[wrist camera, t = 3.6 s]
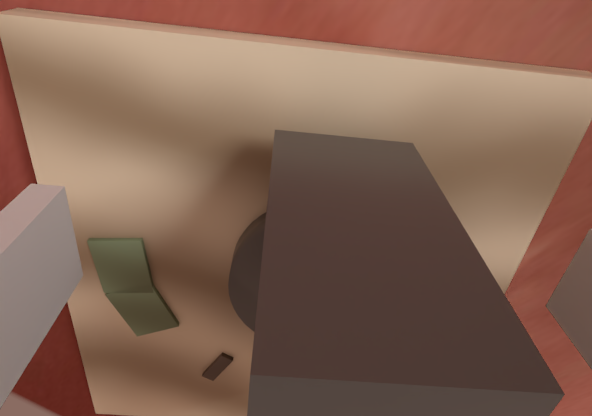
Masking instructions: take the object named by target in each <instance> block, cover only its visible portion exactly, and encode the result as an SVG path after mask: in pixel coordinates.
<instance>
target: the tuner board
mask: <svg viewBox="0 0 592 416" xmlns="http://www.w3.org/2000/svg"><path fill="white" fill-rule="evenodd" d="M0 38H1V42H2V46H3V50H4V54H5V58H6V62H7V66H8V69H9V73H10V77H11V81H12V85H13V89H14V93H15V97H16V101H17V105H18V109H19V113H20V117H21V121H22V125H23V129H24V133H25V137H26V141H27V145H28V149H29V152H30V156H31V160H32V164H33V168H34V172H35V176H36V180H37V184H42V185H55V186H65V191H66V195H67V200H68V205H69V210H70V214H71V219H72V224H73V229H74V233H75V238H76V243H77V248H78V252H79V257H80V262H81V267H82V271H83V277H82V278H81V280H80V282H79V283H78V285H77V286H76V288H75V290H74V291H73V293H72V294H71V296H70V298H69V299H68V301H67V303H68V307H69V311H70V314H71V318H72V322H73V326H74V330H75V334H76V338H77V342H78V346H79V350H80V354H81V358H82V362H83V366H84V370H85V374H86V378H87V382H88V386H89V390H90V394H91V397H92V401H93V405H94V409H95V413H96V414H111V415H129V416H247V410H248V397H249V383H250V371H251V361H252V351H253V341H254V331H252V330H251V329H250V328H249V327H248V326H246V325H245V324H244V323H243V321H242V320H241V319H240V318H239V317H238V315H237V313H236V312H235V310H234V308H233V306H232V303H231V301H230V297H229V290H228V281H229V274H230V269H231V264H232V258H233V254H234V250H235V247H236V244H237V242H238V240H239V238H240V236H241V235H242V234H243V232H244V231H245V229H246V228H247V227H248V226H249V225H250V224H251V223H252V222H253V221H254V220H256V219H257V218H258V217H259V216H260V215H262V214H264V213H265V212H267V202H268V192H269V182H270V172H271V162H272V152H273V142H274V132H275V130H285V131H295V132H305V133H316V134H326V135H336V136H346V137H357V138H367V139H377V140H387V141H398V142H408V143H413V144H414V146H415V147H416V149H417V151H418V152H419V154H420V156H421V157H422V159H423V161H424V162H425V164H426V166H427V167H428V169H429V171H430V172H431V174H432V176H433V177H434V179H435V181H436V182H437V184H438V185H439V187H440V189H441V190H442V192H443V194H444V195H445V197H446V199H447V200H448V202H449V204H450V205H451V207H452V209H453V210H454V212H455V214H456V215H457V217H458V219H459V220H460V222H461V224H462V225H463V227H464V228H465V230H466V232H467V233H468V235H469V237H470V238H471V240H472V242H473V243H474V245H475V247H476V248H477V250H478V252H479V253H480V255H481V257H482V258H483V260H484V262H485V263H486V265H487V267H488V268H489V270H490V272H491V273H492V275H493V276H494V278H495V280H496V281H497V283H498V285H499V286H500V288H501V290H502V291H503V293H504V294H505V292H506V290H507V288H508V286H509V284H510V282H511V280H512V278H513V276H514V274H515V272H516V270H517V268H518V266H519V264H520V262H521V260H522V258H523V256H524V254H525V252H526V250H527V248H528V246H529V244H530V242H531V240H532V238H533V236H534V234H535V232H536V230H537V228H538V226H539V224H540V222H541V220H542V218H543V216H544V214H545V212H546V210H547V208H548V206H549V204H550V202H551V200H552V198H553V196H554V194H555V192H556V190H557V188H558V186H559V184H560V182H561V180H562V178H563V176H564V174H565V172H566V170H567V168H568V166H569V164H570V162H571V160H572V158H573V156H574V154H575V152H576V150H577V148H578V146H579V144H580V142H581V140H582V138H583V136H584V134H585V132H586V130H587V128H588V126H589V124H590V122H591V120H592V73H591V72H589V71H584V70H575V69H566V68H557V67H548V66H539V65H530V64H521V63H512V62H503V61H494V60H485V59H476V58H467V57H458V56H449V55H440V54H431V53H422V52H413V51H404V50H395V49H386V48H377V47H368V46H359V45H349V44H340V43H331V42H322V41H313V40H304V39H295V38H286V37H277V36H268V35H259V34H250V33H241V32H232V31H223V30H214V29H205V28H196V27H187V26H178V25H169V24H160V23H151V22H142V21H133V20H124V19H115V18H106V17H97V16H88V15H79V14H70V13H61V12H52V11H43V10H34V9H25V8H15V9H11V10H6V11H2V12H0Z"/></svg>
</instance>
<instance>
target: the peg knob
mask: <svg viewBox="0 0 592 416" xmlns="http://www.w3.org/2000/svg"><path fill="white" fill-rule="evenodd" d="M228 290H229V297H230V301H231V303H232V306H233V308H234V310H235V312H236V313H237V315H238V317H239V318H240V319H241V320H242V321H243V323H244V324H245V325H246V326H248V327H249V328H250V329H251V330H252V331H254V341H253V351H252V361H251V371H250V383H249V397H248V410H247V416H549V415H550V414H551V412H552V411H553V410H554V408H555V407H556V406H557V404H558V403H559V402H560V400H561V399H562V397H563V396H564V395H565V394H564V392H563V391H562V389H561V387H560V386H559V384H558V382H557V381H556V379H555V377H554V376H553V374H552V372H551V371H550V369H549V367H548V366H547V364H546V362H545V361H544V359H543V358H542V356H541V354H540V353H539V351H538V349H537V348H536V346H535V344H534V343H533V341H532V339H531V338H530V336H529V334H528V333H527V331H526V329H525V328H524V326H523V324H522V323H521V321H520V319H519V318H518V316H517V315H516V313H515V311H514V310H513V308H512V306H511V305H510V303H509V301H508V300H507V298H506V296H505V295H504V293H503V291H502V290H501V288H500V286H499V285H498V283H497V281H496V280H495V278H494V276H493V275H492V273H491V272H490V270H489V268H488V267H487V265H486V263H485V262H484V260H483V258H482V257H481V255H480V253H479V252H478V250H477V248H476V247H475V245H474V243H473V242H472V240H471V238H470V237H469V235H468V233H467V232H466V230H465V228H464V227H463V225H462V224H461V222H460V220H459V219H458V217H457V215H456V214H455V212H454V210H453V209H452V207H451V205H450V204H449V202H448V200H447V199H446V197H445V195H444V194H443V192H442V190H441V189H440V187H439V185H438V184H437V182H436V181H435V179H434V177H433V176H432V174H431V172H430V171H429V169H428V167H427V166H426V164H425V162H424V161H423V159H422V157H421V156H420V154H419V152H418V151H417V149H416V147H415V146H414V144H413V143H408V142H398V141H387V140H377V139H367V138H357V137H346V136H336V135H326V134H316V133H305V132H295V131H285V130H275V132H274V142H273V152H272V162H271V172H270V182H269V192H268V202H267V212H265V213H264V214H262V215H260V216H259V217H258V218H257V219H256V220H254V221H253V222H252V223H251V224H250V225H249V226H248V227H247V228H246V229H245V231H244V232H243V234H242V235H241V236H240V238H239V240H238V242H237V244H236V247H235V250H234V254H233V258H232V264H231V269H230V274H229V281H228Z"/></svg>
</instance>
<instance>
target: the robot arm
mask: <svg viewBox="0 0 592 416" xmlns="http://www.w3.org/2000/svg"><path fill="white" fill-rule="evenodd" d="M82 277H83V271H82V267H81V262H80V257H79V252H78V248H77V243H76V238H75V233H74V229H73V224H72V219H71V214H70V210H69V205H68V200H67V195H66V191H65V186H55V185H42V184H30V185H29V186H28V187H27V188H26V189H24V190H23V191H22V192H21V193H20V194H19V195H18V196H17V197H16V198H15V199H14V200H12V201H11V202H10V203H9V204H8V205H7V206H6V207H5V208H4V209H3V210H2V211H0V409H1V407H2V405H3V403H4V402H5V401H6V399H7V397H8V396H9V394H10V393H11V391H12V389H13V388H14V386H15V384H16V383H17V381H18V380H19V378H20V376H21V375H22V373H23V372H24V370H25V368H26V367H27V365H28V364H29V362H30V360H31V359H32V357H33V356H34V354H35V352H36V351H37V349H38V348H39V346H40V344H41V343H42V341H43V339H44V338H45V336H46V335H47V333H48V331H49V330H50V328H51V327H52V325H53V323H54V322H55V320H56V319H57V317H58V315H59V314H60V312H61V311H62V309H63V307H64V306H65V304H66V302H67V301H68V299H69V298H70V296H71V294H72V293H73V291H74V290H75V288H76V286H77V285H78V283H79V282H80V280H81V278H82ZM546 307H547V308H548V310H549V311H550V313H551V314H552V315H553V317H554V318H555V319H556V321H557V322H558V324H559V325H560V326H561V328H562V329H563V330H564V332H565V333H566V335H567V336H568V337H569V339H570V340H571V342H572V343H573V344H574V346H575V347H576V348H577V350H578V351H579V353H580V354H581V355H582V357H583V358H584V359H585V361H586V362H587V364H588V365H589V366H590V368H591V369H592V229H590V230H589V231H588V233H587V235H586V237H585V238H584V240H583V242H582V243H581V245H580V247H579V249H578V250H577V252H576V254H575V256H574V257H573V259H572V261H571V263H570V264H569V266H568V268H567V270H566V271H565V273H564V275H563V277H562V278H561V280H560V282H559V284H558V285H557V287H556V289H555V290H554V292H553V294H552V296H551V297H550V299H549V301H548V303H547V304H546Z"/></svg>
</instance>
